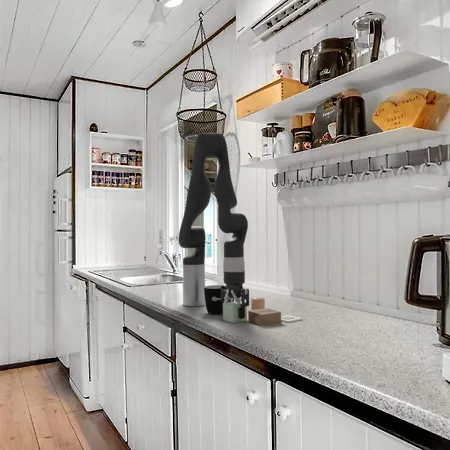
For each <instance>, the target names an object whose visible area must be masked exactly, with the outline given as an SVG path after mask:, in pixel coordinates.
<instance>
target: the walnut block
mask: <svg viewBox="0 0 450 450" xmlns="http://www.w3.org/2000/svg"><path fill="white" fill-rule="evenodd" d="M281 316H282V311H278V310H276V309H271V308H267V307H265V309H258V310H247V321H248V323H252V324H255V325H258V326H261V327H263V326H265V327H266V326H270V325H276V324H282V321H281Z"/></svg>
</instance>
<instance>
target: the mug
mask: <svg viewBox="0 0 450 450" xmlns="http://www.w3.org/2000/svg"><path fill="white" fill-rule="evenodd" d="M221 285H222V284H212V285H211V284H209V285H205V287H204V296H205V305H204V306H205V310H206V311H207V312H206V313H207V314H209V315H213V316H217V315H218V316H219V315H223V303H224V302H221ZM224 298H225V295H224ZM232 302H235V299H233V300H232Z"/></svg>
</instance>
